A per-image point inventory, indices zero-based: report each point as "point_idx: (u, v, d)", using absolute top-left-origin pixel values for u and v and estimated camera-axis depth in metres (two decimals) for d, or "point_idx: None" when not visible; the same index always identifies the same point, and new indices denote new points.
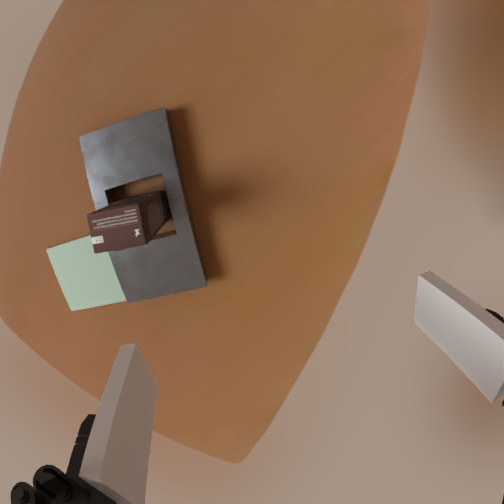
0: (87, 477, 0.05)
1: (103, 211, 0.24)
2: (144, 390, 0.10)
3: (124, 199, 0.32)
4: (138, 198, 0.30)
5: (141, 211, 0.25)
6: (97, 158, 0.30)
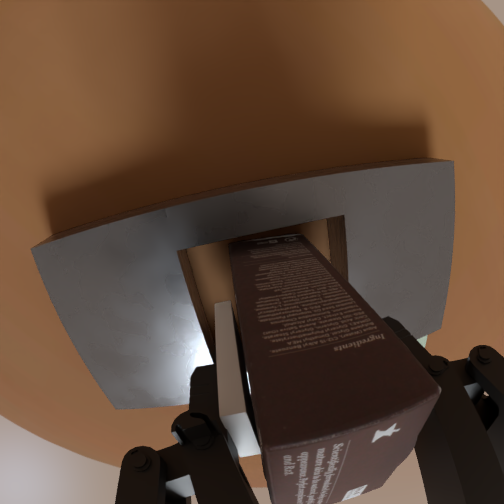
0: (231, 414, 0.07)
1: (273, 499, 0.06)
2: (239, 343, 0.12)
3: None
4: None
5: (300, 427, 0.05)
6: (151, 387, 0.15)
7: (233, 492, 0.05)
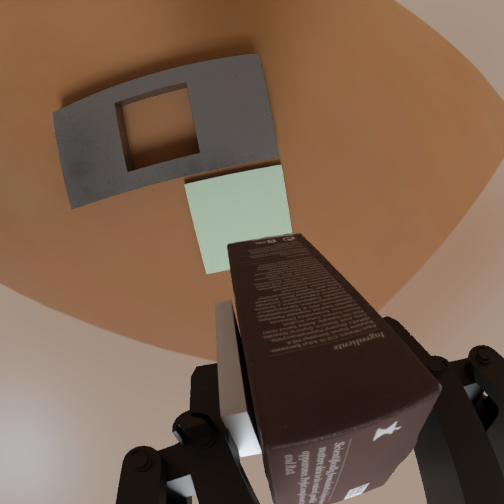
0: (232, 414, 0.07)
1: (275, 499, 0.06)
2: (240, 343, 0.12)
3: None
4: None
5: (301, 426, 0.05)
6: (93, 183, 0.27)
7: (234, 492, 0.05)
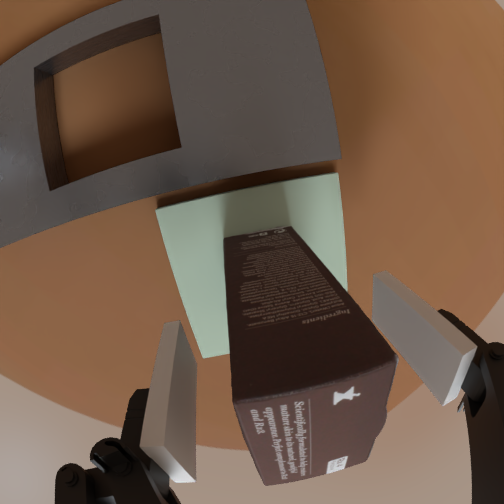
0: (150, 446, 0.06)
1: (257, 465, 0.07)
2: (188, 365, 0.11)
3: None
4: None
5: (264, 384, 0.06)
6: (4, 213, 0.12)
7: None
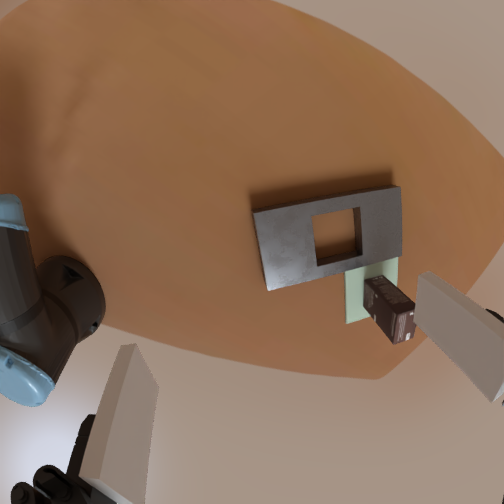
0: (87, 477, 0.05)
1: (394, 334, 0.37)
2: (144, 390, 0.10)
3: (369, 309, 0.45)
4: (377, 304, 0.42)
5: (401, 311, 0.36)
6: (289, 273, 0.42)
7: None
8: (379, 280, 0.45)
